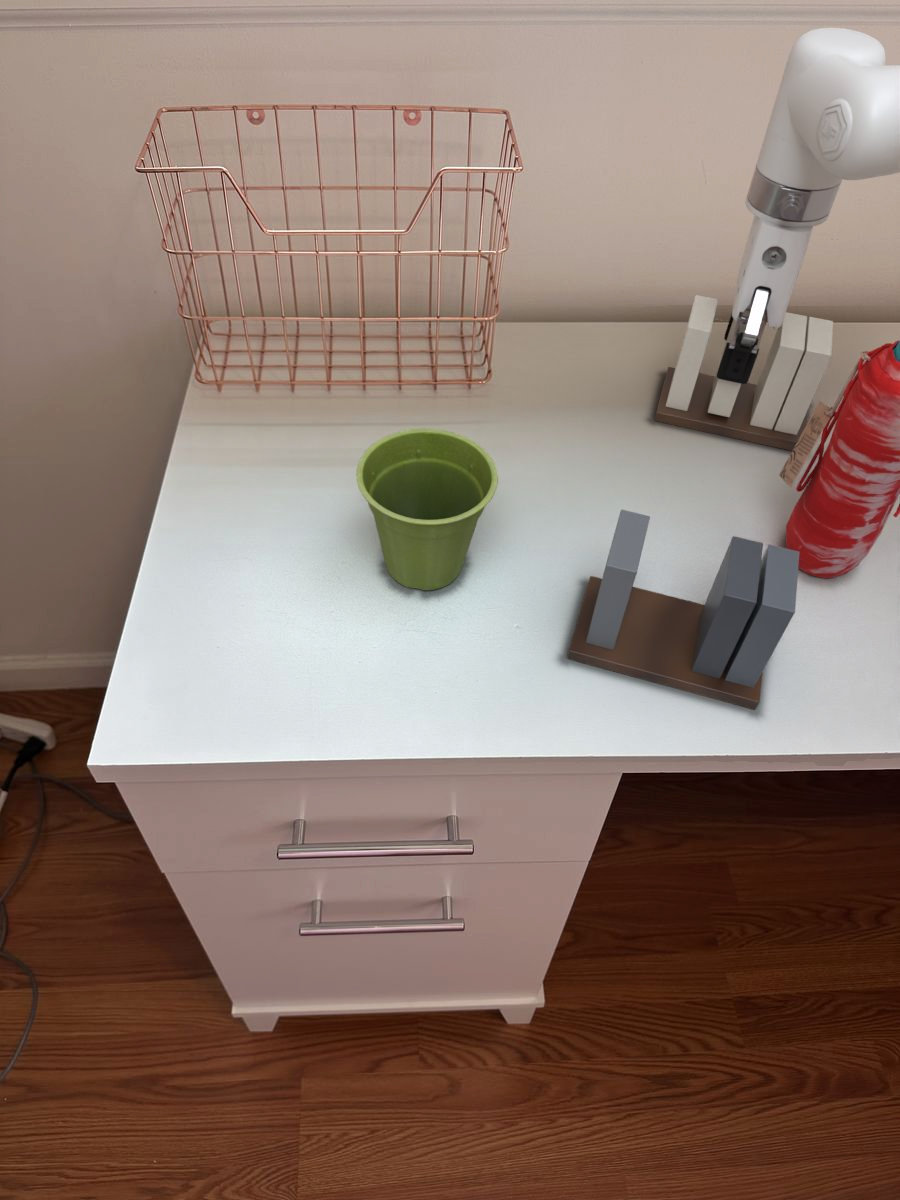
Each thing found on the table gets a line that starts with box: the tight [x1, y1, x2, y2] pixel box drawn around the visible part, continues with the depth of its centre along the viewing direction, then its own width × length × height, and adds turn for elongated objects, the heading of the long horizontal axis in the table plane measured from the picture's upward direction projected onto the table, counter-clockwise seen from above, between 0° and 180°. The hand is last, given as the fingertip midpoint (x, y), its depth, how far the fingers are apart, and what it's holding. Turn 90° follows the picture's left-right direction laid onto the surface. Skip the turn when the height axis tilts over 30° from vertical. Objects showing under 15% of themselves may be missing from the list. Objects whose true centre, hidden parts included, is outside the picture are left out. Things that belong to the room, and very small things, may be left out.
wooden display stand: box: [653, 294, 834, 452], centre depth 92 cm, size 16×9×11 cm, turn 72°
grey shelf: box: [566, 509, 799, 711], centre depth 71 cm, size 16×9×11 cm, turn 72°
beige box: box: [708, 310, 750, 417], centre depth 91 cm, size 2×6×10 cm, turn 162°
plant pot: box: [355, 427, 499, 591], centre depth 76 cm, size 12×12×11 cm
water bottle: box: [778, 339, 900, 579], centre depth 73 cm, size 12×8×25 cm, turn 33°
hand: (735, 359), depth 91 cm, fingers closed on beige box, 6 cm apart
